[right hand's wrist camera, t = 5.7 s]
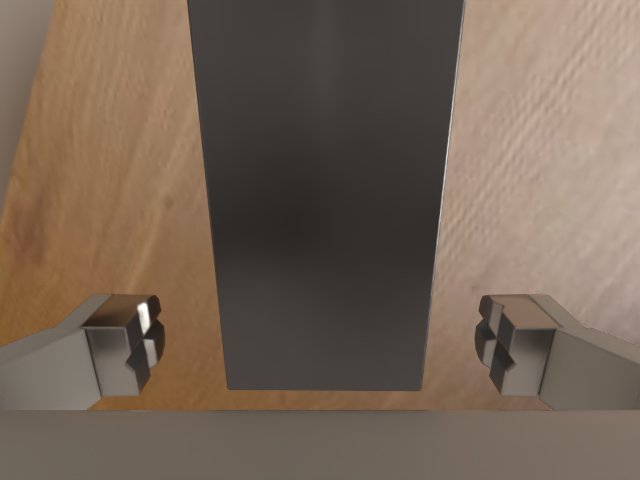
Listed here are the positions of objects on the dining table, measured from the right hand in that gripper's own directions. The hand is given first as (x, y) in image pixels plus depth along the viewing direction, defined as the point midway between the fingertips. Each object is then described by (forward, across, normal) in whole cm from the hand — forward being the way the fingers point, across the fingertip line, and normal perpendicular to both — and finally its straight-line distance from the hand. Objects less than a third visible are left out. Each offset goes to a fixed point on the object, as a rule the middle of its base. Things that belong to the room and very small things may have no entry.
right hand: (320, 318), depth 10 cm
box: (+10, 0, -8) cm, 13 cm away
